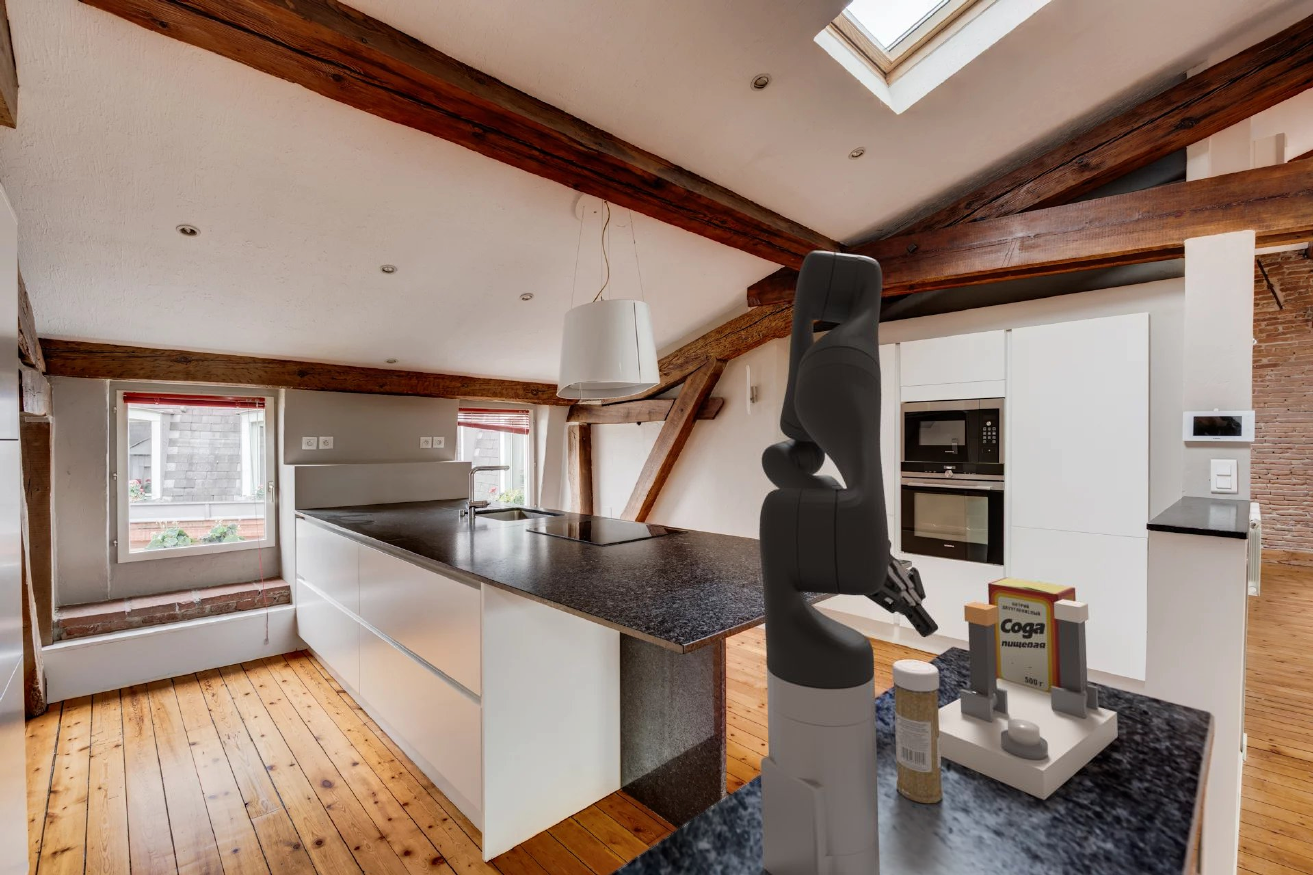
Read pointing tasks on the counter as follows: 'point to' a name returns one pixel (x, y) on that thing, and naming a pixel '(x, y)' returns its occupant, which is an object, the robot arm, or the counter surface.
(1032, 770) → the switch panel
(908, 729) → the sprinkles bottle
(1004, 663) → the baking soda box
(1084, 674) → the lever white
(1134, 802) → the counter surface
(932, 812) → the counter surface
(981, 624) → the lever orange
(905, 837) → the counter surface
